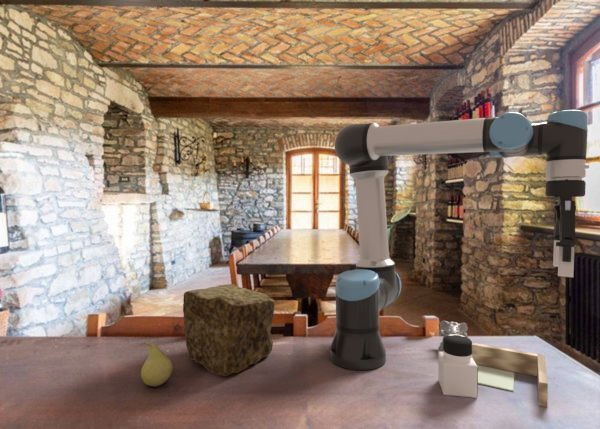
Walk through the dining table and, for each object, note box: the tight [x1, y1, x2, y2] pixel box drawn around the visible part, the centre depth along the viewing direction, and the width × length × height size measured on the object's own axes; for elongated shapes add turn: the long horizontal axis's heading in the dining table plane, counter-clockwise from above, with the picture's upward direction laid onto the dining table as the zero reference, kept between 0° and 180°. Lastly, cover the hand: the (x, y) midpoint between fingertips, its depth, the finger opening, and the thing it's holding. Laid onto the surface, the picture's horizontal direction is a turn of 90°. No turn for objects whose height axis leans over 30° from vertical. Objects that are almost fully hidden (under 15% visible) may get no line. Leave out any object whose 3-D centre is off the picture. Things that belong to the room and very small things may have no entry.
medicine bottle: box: [437, 334, 479, 399], centre depth 85 cm, size 7×7×12 cm
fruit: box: [140, 340, 173, 388], centre depth 88 cm, size 7×8×12 cm
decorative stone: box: [182, 283, 275, 377], centre depth 102 cm, size 21×20×20 cm
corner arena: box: [472, 342, 549, 408], centre depth 90 cm, size 21×16×5 cm
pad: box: [476, 364, 516, 392], centre depth 91 cm, size 10×10×1 cm
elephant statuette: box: [438, 320, 469, 353], centre depth 108 cm, size 9×12×8 cm
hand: (562, 271), depth 87 cm, fingers open, 13 cm apart
